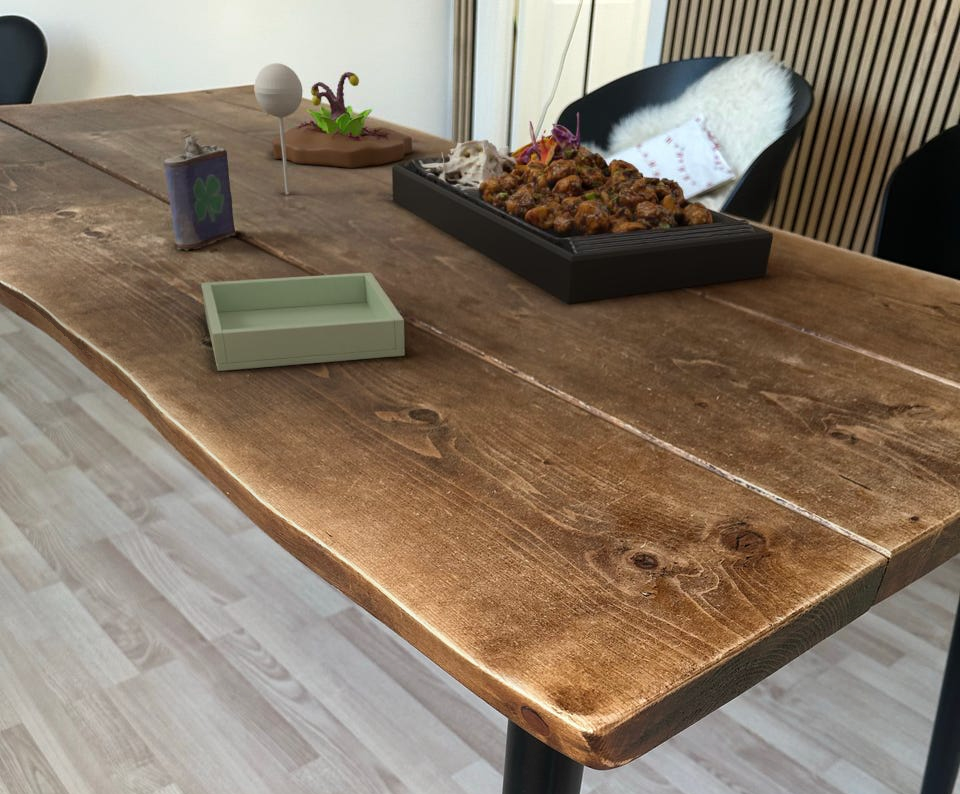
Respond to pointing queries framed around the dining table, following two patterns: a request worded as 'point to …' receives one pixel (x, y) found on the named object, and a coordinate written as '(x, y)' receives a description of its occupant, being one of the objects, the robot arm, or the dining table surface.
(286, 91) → the lollipop
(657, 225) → the food platter
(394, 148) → the plant
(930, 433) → the dining table surface
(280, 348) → the tray
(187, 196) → the flask
